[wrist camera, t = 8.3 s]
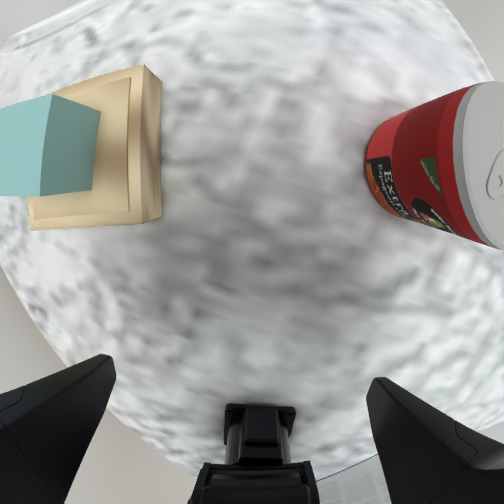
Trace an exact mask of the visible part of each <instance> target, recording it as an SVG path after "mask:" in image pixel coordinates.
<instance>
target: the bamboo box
mask: <svg viewBox="0 0 504 504" xmlns="http://www.w3.org/2000/svg"><path fill="white" fill-rule="evenodd" d="M161 93H162V81H161V80H159V79H158V78H157V77H156V76H155V75H154V74H153V73H152V72H151V71H150V70H149V69H148V68H147V67H146V66H145V65H140V66H135V67H131V68H127V69H123V70H119V71H115V72H111V73H108V74H104V75H101V76H98V77H94V78H91V79H88V80H85V81H82V82H79V83H76V84H73V85H71V86H68V87H65V88H63V89H60V90H57V91H55V92H52V93H50V94H54V95H57V96H60V97H63V98H66V99H69V100H72V101H74V102H77V103H80V104H83V105H85V106H88V107H91V108H93V109H96V110H98V111H101V115H100V121H99V127H98V133H97V141H96V148H95V157H94V167H93V179H92V190H90V191H80V192H72V193H64V194H56V195H48V196H41V197H33V196H28V209H29V220H30V229H31V231H36V230H48V229H61V228H75V227H90V226H107V225H125V224H143V223H146V222H148V221H151V220H153V219H156V218H159V217H161V216H162V201H161V171H160V121H161ZM50 94H48V95H50ZM45 96H46V95H45Z"/></svg>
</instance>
